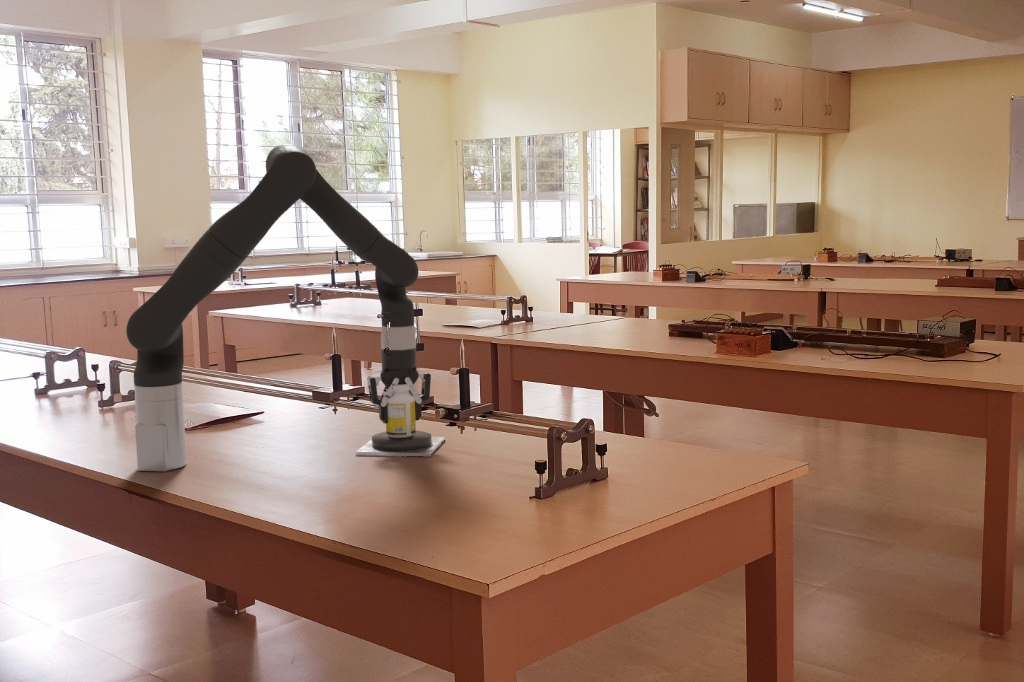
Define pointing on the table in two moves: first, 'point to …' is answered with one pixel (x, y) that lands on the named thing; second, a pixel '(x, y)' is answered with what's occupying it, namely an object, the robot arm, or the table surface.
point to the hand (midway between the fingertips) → (400, 421)
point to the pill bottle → (401, 413)
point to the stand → (401, 445)
